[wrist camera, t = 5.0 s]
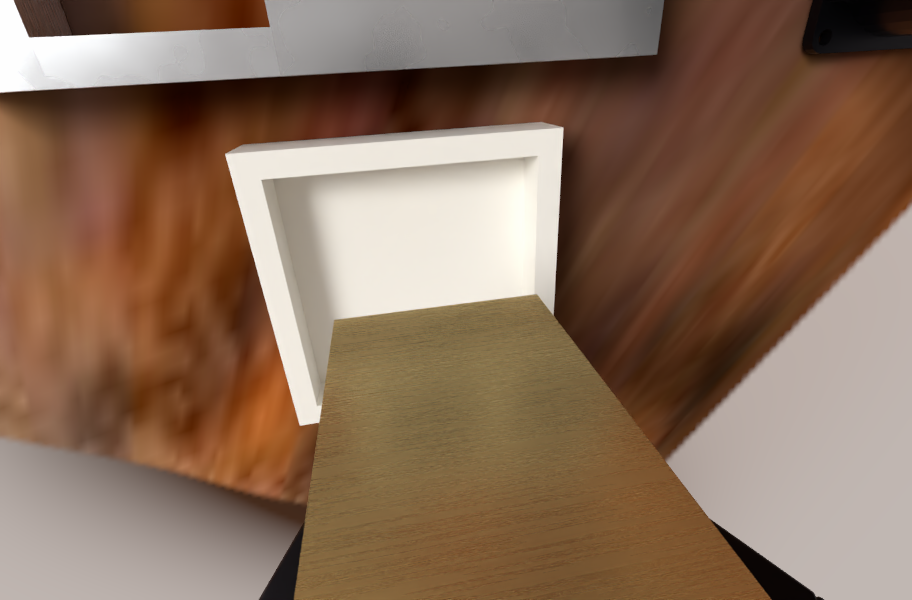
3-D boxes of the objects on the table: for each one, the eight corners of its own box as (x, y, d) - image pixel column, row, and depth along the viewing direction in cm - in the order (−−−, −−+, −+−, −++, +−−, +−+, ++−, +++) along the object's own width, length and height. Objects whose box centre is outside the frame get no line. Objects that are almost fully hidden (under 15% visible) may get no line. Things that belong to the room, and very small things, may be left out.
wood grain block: (536, 294, 10) (797, 633, 4) (532, 442, 12) (698, 817, 6) (334, 319, 10) (270, 764, 3) (364, 470, 12) (360, 919, 5)
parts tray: (541, 122, 16) (563, 127, 14) (534, 359, 21) (549, 386, 19) (242, 144, 15) (225, 154, 13) (305, 393, 19) (299, 425, 17)
